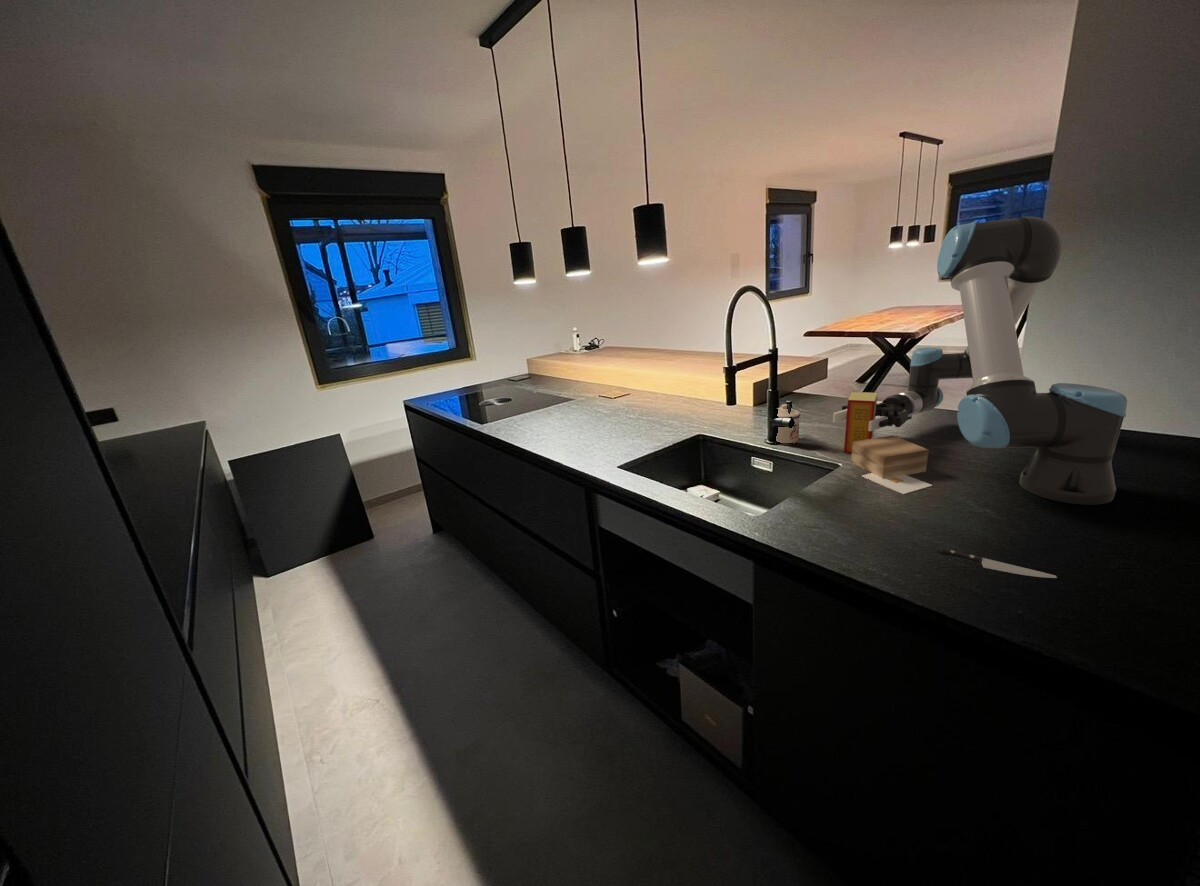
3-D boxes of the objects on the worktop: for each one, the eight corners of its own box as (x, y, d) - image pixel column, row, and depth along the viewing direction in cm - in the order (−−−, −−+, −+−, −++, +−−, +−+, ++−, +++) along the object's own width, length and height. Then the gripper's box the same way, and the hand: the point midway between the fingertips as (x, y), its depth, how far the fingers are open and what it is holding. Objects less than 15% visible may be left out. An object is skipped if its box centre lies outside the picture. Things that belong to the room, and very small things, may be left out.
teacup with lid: (796, 446, 144) (797, 409, 140) (765, 443, 149) (766, 407, 145) (803, 433, 153) (805, 399, 150) (774, 431, 158) (775, 397, 154)
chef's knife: (1078, 593, 76) (1076, 582, 78) (1080, 587, 75) (1078, 576, 77) (933, 558, 87) (935, 550, 89) (934, 553, 87) (936, 545, 89)
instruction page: (932, 485, 112) (932, 484, 112) (903, 494, 110) (903, 492, 110) (888, 469, 123) (888, 467, 123) (861, 476, 121) (861, 475, 121)
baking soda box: (848, 441, 143) (852, 390, 138) (872, 444, 140) (877, 391, 134) (843, 452, 136) (848, 398, 130) (869, 455, 132) (875, 400, 127)
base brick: (925, 471, 119) (928, 449, 117) (882, 479, 118) (884, 456, 116) (890, 455, 131) (893, 435, 129) (850, 462, 129) (852, 441, 127)
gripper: (940, 426, 133) (889, 444, 124) (864, 410, 153) (816, 425, 144) (943, 400, 131) (892, 417, 122) (866, 387, 150) (817, 401, 142)
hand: (851, 421), depth 133 cm, fingers closed on baking soda box, 10 cm apart
